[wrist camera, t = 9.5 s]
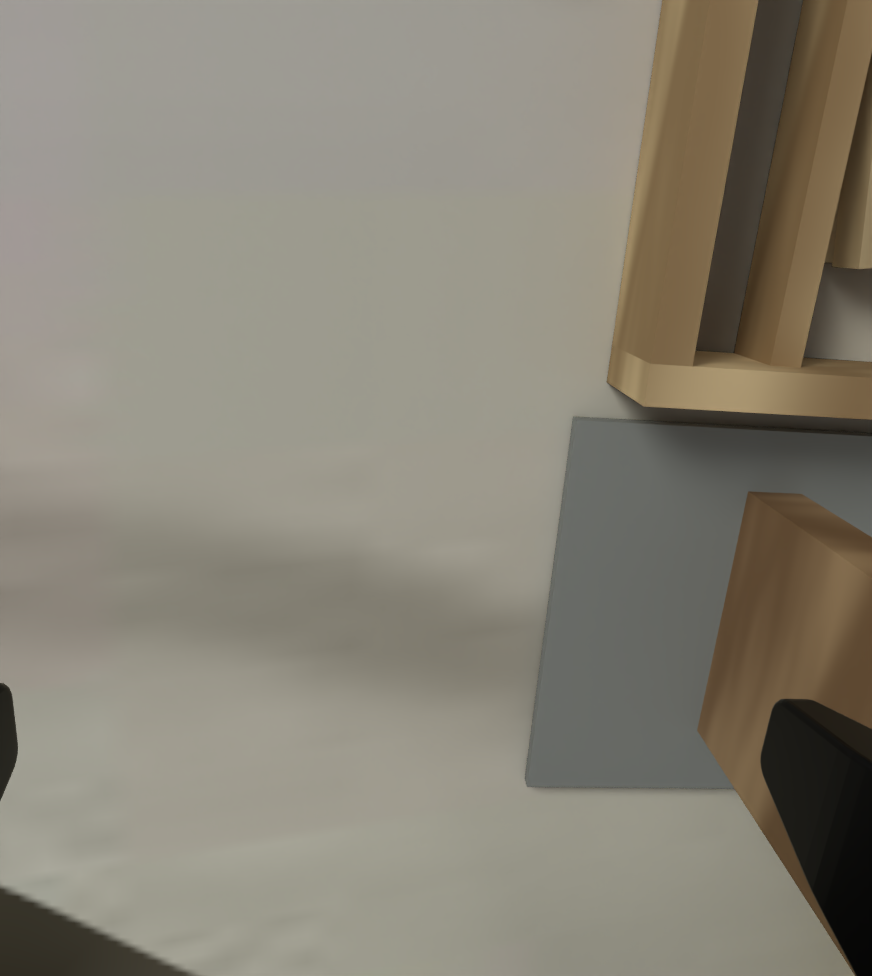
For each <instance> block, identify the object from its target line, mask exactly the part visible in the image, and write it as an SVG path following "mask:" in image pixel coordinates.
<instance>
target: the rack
mask: <svg viewBox="0 0 872 976" xmlns="http://www.w3.org/2000/svg"><path fill="white" fill-rule="evenodd" d="M757 6H758V0H662V7H661V14H660V21H659V28H658V34H657V41H656V48H655V55H654V62H653V69H652V76H651V82H650V89H649V96H648V103H647V110H646V117H645V124H644V130H643V137H642V144H641V151H640V158H639V165H638V172H637V178H636V185H635V192H634V199H633V206H632V213H631V220H630V226H629V233H628V240H627V247H626V254H625V261H624V268H623V274H622V281H621V288H620V295H619V302H618V309H617V316H616V322H615V329H614V336H613V343H612V350H611V357H610V364H609V370H608V377H607V383H609V384H610V385H612V386H613V387H615V388H616V389H618V390H619V391H621V392H622V393H624V394H625V395H627V396H629V397H630V398H632V399H633V400H635V401H636V402H638V403H639V404H641V405H642V406H644V407H662V408H679V409H696V410H713V411H731V412H748V413H765V414H783V415H800V416H817V417H834V418H852V419H869V420H872V362H862V361H846V360H831V359H816V358H803V356H804V351H805V347H806V342H807V338H808V333H809V329H810V324H811V320H812V316H813V311H814V307H815V302H816V298H817V293H818V289H819V284H820V280H821V276H822V271H823V267H824V262H825V258H826V253H827V249H828V245H829V240H830V236H831V231H832V227H833V222H834V218H835V213H836V209H837V205H838V200H839V196H840V191H841V187H842V182H843V178H844V173H845V169H846V165H847V160H848V156H849V151H850V147H851V142H852V138H853V133H854V129H855V125H856V120H857V116H858V111H859V107H860V102H861V98H862V93H863V89H864V85H865V80H866V76H867V71H868V67H869V62H870V58H871V53H872V0H803V4H802V9H801V14H800V19H799V24H798V29H797V35H796V40H795V45H794V50H793V55H792V60H791V65H790V70H789V75H788V80H787V86H786V91H785V96H784V101H783V106H782V111H781V116H780V121H779V126H778V131H777V136H776V142H775V147H774V152H773V157H772V162H771V167H770V172H769V177H768V182H767V187H766V192H765V198H764V203H763V208H762V213H761V218H760V223H759V228H758V233H757V238H756V243H755V249H754V254H753V259H752V264H751V269H750V274H749V279H748V284H747V289H746V294H745V299H744V305H743V310H742V315H741V320H740V325H739V330H738V335H737V340H736V345H735V350H734V353H724V352H709V351H695V350H696V344H697V339H698V333H699V327H700V322H701V316H702V311H703V305H704V300H705V294H706V289H707V283H708V278H709V272H710V266H711V261H712V255H713V250H714V244H715V239H716V233H717V228H718V222H719V217H720V211H721V205H722V200H723V194H724V189H725V183H726V178H727V172H728V167H729V161H730V155H731V150H732V144H733V139H734V133H735V128H736V122H737V117H738V111H739V106H740V100H741V94H742V89H743V83H744V78H745V72H746V67H747V61H748V56H749V50H750V45H751V39H752V33H753V28H754V22H755V17H756V11H757Z"/></svg>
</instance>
